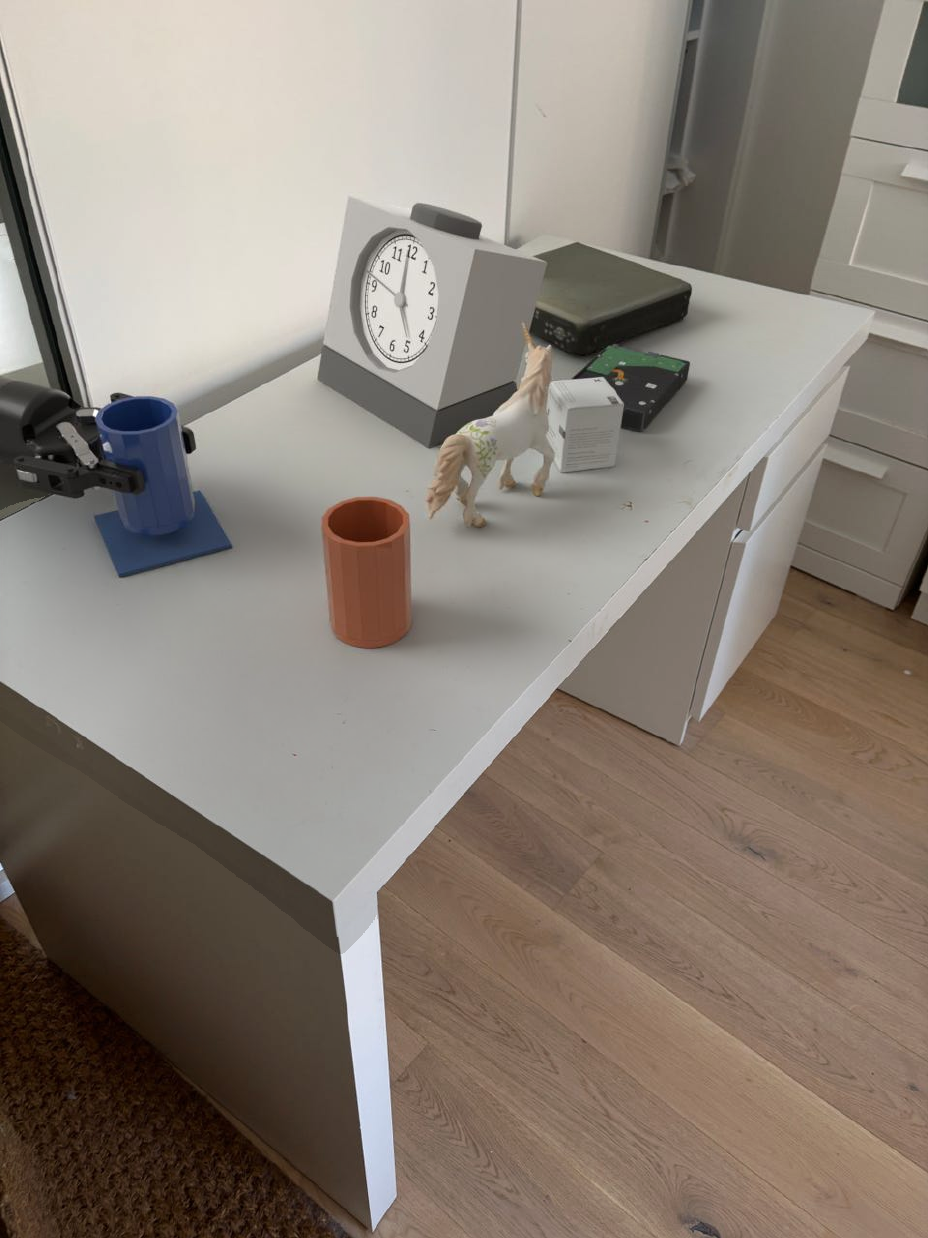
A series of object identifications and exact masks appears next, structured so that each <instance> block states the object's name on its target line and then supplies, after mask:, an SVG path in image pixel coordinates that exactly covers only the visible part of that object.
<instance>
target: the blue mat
mask: <svg viewBox="0 0 928 1238" xmlns="http://www.w3.org/2000/svg"><path fill="white" fill-rule="evenodd" d="M193 494H194V500H195V509H196V512H195V516H194V517H193V519H192V520H191V521H190V522H189V523H188V524H187V525H186V526H184V527H182V528H181V529H178V530H176V531H173V532H170V533H167V534H161V535H140V534H136V533H133V532H130V531H128V530H127V529H125V528H124V527H123V526H122V524H121V522H120V518H119V514H118V512H117V509H115V510H111V511H108V512H104V513H100V514H95V515H93V517H94V520H95V523H96V526H97V528H98V530H99V533H100V535H101V537H102V540H103V542H104V544H105V547H106V549H107V551H108V554H109V557H110V559H111V561H112V564H113V566H114V569H115V571H116V574H117V576H118V578H123V577H127V576H130V575H134V574H138V573H142V572H145V571H149V570H153V569H156V568H160V567H165V566H169V565H172V564H175V563H180V562H183V561H187V560H191V559H194V558H199V557H202V556H206V555H210V554H214V553H217V552H221V551H224V550H229V549H232V548H233V544H232V543H231V540H230V539H229V537H228V536H227V534H226V532H225V530H224V529H223V527H222V525H221V523H220V521H219V520H218V518H217V517H216V515H215V514H214V512H213V510H212V508H211V506H210V505H209V503H208V501H207V500H206V497H205V496H204V495H203V493H202V491H201V490H196V491H193Z"/></svg>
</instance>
